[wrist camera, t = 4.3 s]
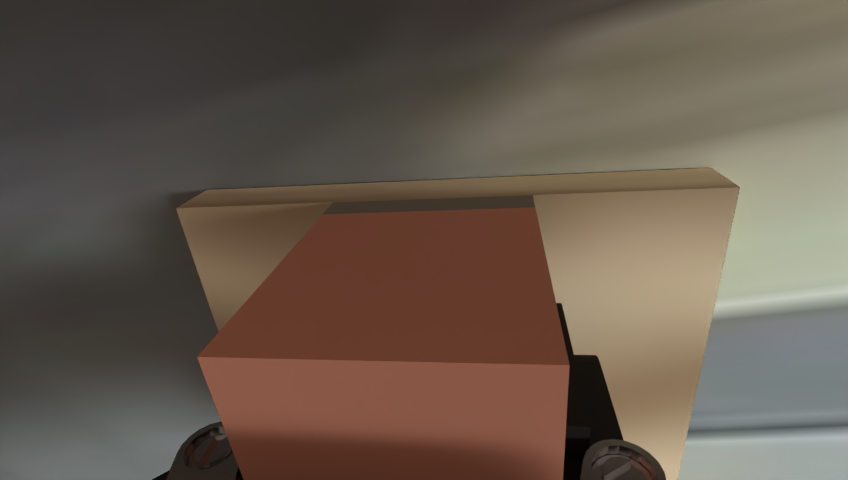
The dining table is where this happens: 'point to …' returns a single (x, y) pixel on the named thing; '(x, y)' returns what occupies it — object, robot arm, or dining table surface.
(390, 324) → the block
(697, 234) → the board
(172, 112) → the dining table surface
